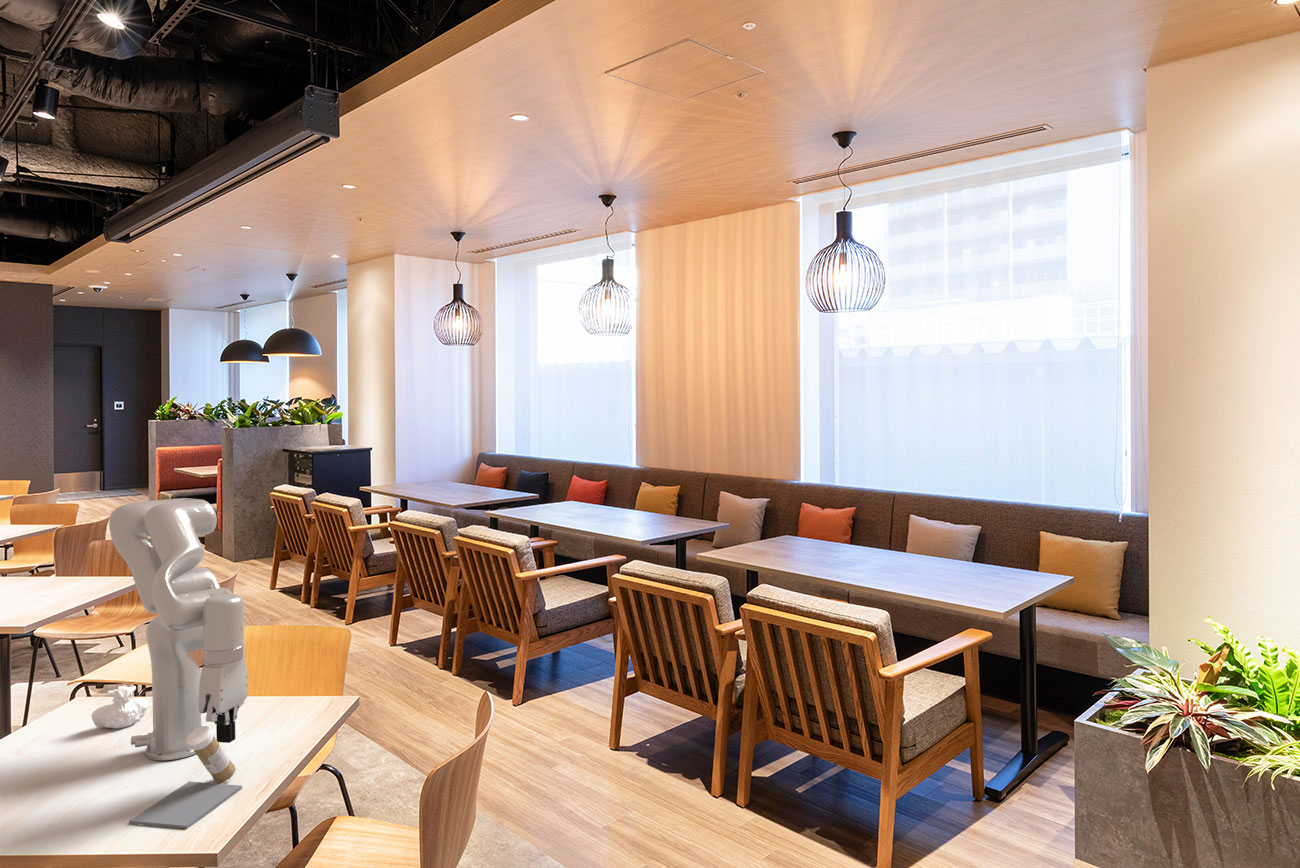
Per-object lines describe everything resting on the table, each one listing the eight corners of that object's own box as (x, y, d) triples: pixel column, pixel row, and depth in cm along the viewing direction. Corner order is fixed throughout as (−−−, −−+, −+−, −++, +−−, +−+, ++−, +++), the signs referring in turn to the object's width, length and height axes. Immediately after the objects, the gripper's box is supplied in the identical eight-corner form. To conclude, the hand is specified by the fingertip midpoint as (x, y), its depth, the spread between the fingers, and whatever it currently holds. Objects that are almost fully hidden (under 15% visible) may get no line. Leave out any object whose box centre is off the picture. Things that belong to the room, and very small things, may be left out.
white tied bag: (92, 741, 194) (96, 713, 189) (88, 715, 199) (92, 687, 193) (150, 728, 202) (155, 700, 197) (144, 703, 207) (150, 675, 201)
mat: (186, 829, 151) (186, 825, 151) (129, 823, 153) (129, 820, 153) (242, 788, 167) (242, 785, 167) (189, 784, 169) (189, 781, 169)
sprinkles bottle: (209, 776, 171) (181, 737, 163) (229, 760, 173) (203, 721, 166) (220, 787, 168) (192, 748, 161) (240, 770, 171) (214, 731, 163)
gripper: (230, 643, 178) (232, 726, 178) (182, 665, 163) (184, 755, 164) (262, 644, 177) (264, 727, 177) (217, 666, 162) (219, 757, 163)
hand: (226, 740), depth 171 cm, fingers closed
